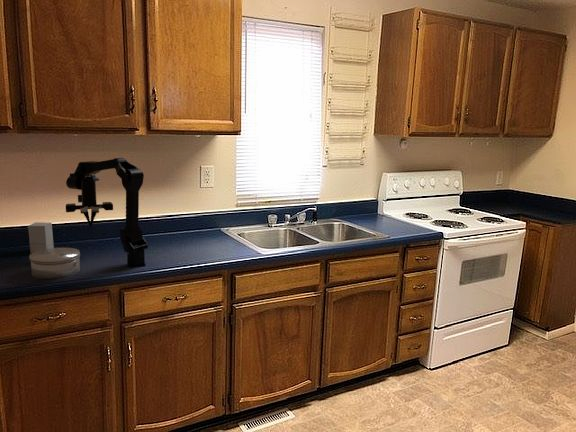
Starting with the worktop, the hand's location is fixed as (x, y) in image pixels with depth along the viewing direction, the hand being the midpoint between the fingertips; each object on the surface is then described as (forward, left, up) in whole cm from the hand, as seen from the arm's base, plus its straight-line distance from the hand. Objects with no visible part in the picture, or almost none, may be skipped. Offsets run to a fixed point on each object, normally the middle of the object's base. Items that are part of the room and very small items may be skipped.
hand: (90, 226), depth 206 cm
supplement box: (+20, -14, -13) cm, 28 cm away
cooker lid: (+14, +19, -7) cm, 25 cm away
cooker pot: (+14, +15, -13) cm, 24 cm away
